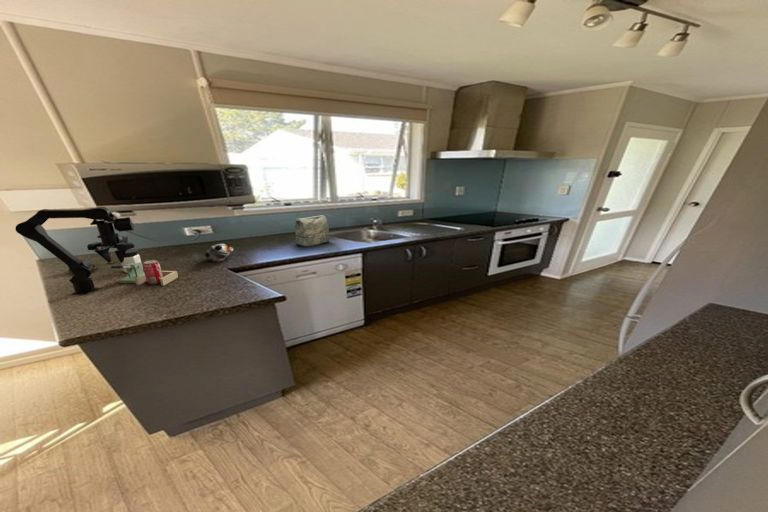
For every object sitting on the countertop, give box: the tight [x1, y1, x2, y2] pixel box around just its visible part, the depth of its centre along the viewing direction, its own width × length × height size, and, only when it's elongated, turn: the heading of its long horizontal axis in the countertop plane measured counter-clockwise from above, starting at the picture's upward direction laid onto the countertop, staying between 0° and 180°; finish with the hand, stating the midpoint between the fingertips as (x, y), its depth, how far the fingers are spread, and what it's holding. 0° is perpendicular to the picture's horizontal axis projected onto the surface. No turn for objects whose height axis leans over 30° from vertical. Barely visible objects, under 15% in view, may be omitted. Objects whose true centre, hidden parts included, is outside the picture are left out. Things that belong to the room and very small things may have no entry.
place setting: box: [67, 253, 116, 277], centre depth 170 cm, size 18×20×6 cm
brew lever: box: [110, 265, 134, 270], centre depth 152 cm, size 12×5×2 cm, turn 0°
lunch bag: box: [294, 214, 330, 248], centre depth 230 cm, size 26×18×22 cm
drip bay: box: [135, 270, 179, 287], centre depth 155 cm, size 11×14×4 cm
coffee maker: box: [117, 262, 145, 284], centre depth 157 cm, size 12×10×9 cm
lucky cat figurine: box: [204, 243, 235, 263], centre depth 189 cm, size 15×12×14 cm
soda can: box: [142, 259, 163, 285], centre depth 152 cm, size 7×7×12 cm
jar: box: [120, 248, 143, 274], centre depth 168 cm, size 9×8×12 cm
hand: (115, 262), depth 146 cm, fingers open, 6 cm apart
